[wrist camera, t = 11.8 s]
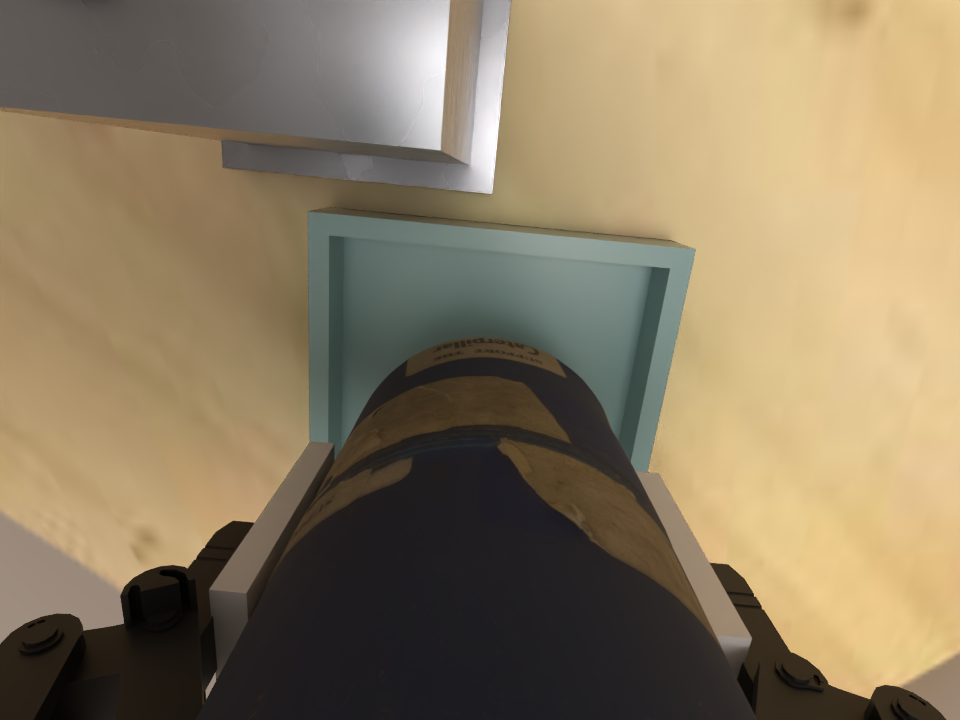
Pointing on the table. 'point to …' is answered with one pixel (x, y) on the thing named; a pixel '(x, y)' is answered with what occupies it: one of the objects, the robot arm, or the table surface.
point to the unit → (276, 80)
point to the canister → (479, 566)
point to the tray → (490, 308)
